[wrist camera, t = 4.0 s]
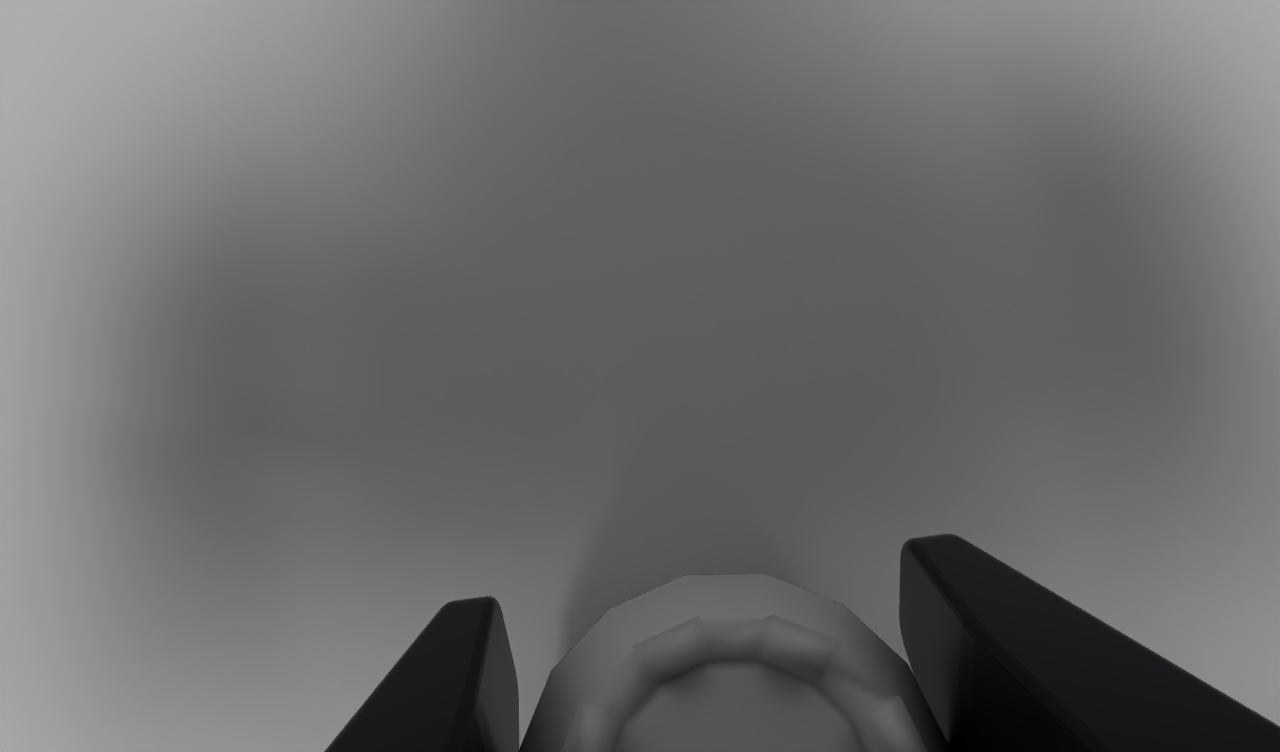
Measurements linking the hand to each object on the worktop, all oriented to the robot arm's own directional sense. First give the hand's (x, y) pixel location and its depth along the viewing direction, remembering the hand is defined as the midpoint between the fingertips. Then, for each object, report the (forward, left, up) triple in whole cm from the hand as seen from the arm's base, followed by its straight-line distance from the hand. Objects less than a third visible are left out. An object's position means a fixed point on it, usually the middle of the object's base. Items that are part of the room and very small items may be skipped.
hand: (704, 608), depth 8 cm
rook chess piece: (-1, -1, -7) cm, 7 cm away
